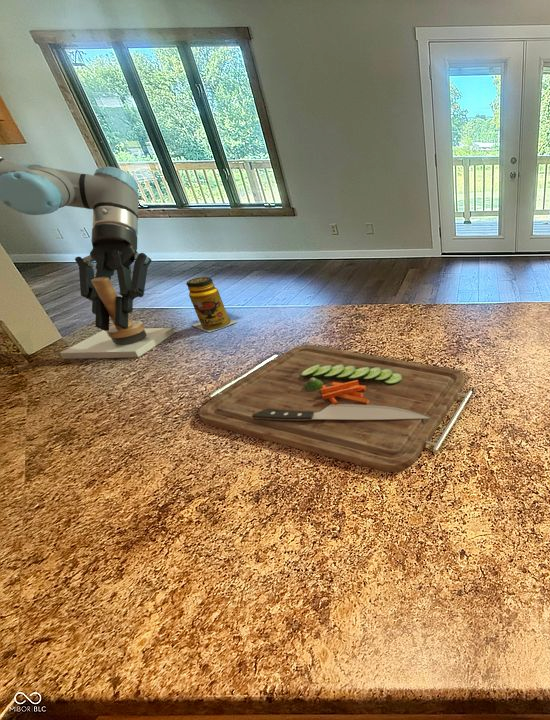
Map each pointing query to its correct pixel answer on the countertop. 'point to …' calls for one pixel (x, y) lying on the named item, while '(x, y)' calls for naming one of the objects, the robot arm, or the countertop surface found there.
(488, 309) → the countertop surface
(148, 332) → the tile
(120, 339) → the brush
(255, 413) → the chopping board
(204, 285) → the condiment
